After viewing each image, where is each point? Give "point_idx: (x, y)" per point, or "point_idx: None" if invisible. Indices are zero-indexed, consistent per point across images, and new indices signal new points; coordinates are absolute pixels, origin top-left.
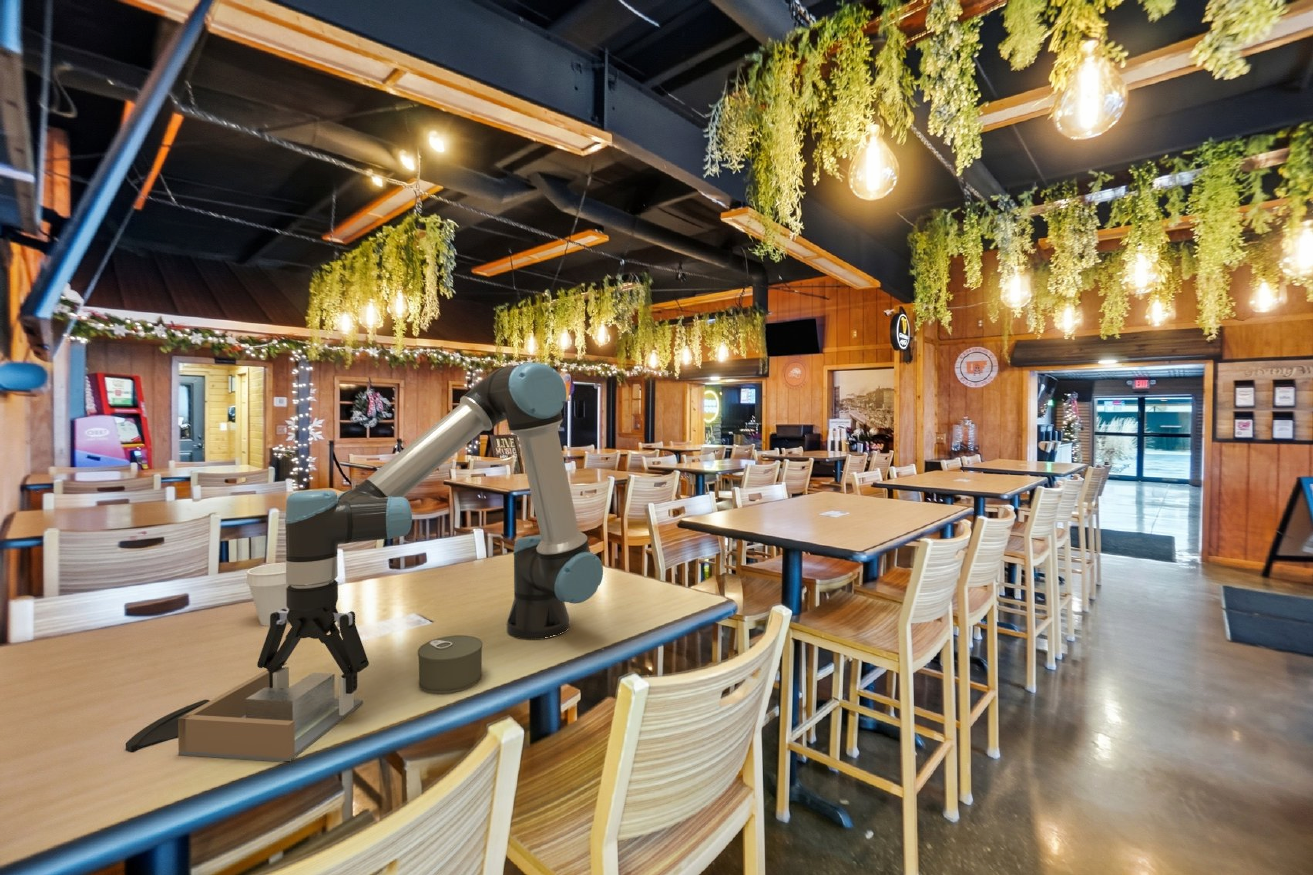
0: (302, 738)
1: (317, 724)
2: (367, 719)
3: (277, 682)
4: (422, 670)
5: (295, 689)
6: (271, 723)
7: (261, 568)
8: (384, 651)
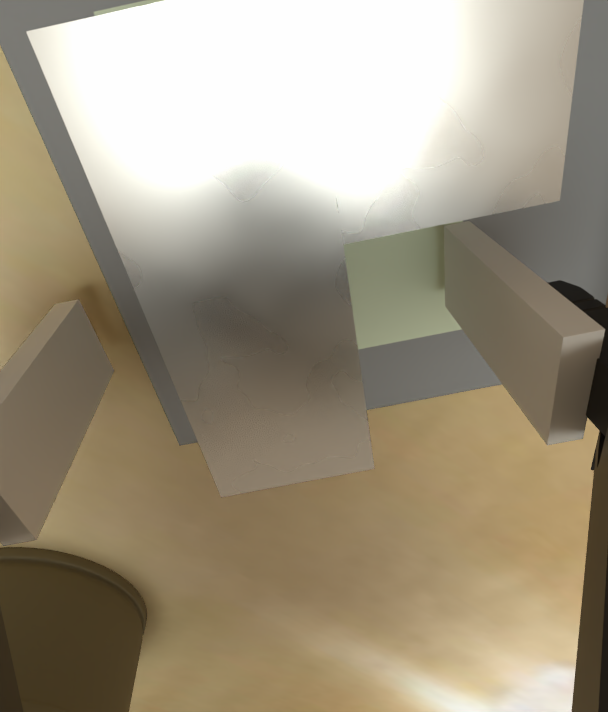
0: None
1: None
2: None
3: (522, 304)
4: (20, 634)
5: (257, 249)
6: None
7: None
8: (428, 652)
